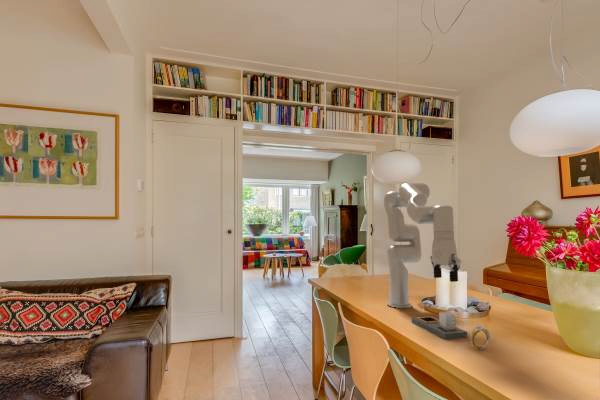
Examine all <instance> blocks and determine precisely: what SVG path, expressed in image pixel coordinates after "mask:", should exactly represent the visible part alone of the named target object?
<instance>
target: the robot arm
mask: <svg viewBox="0 0 600 400" xmlns="http://www.w3.org/2000/svg"><path fill="white" fill-rule="evenodd" d="M430 191H431V190H430V188H429V186H428V185H427V184H426V183H423V182H405V183H403V184H401V185H400V186H399V188H398V190H393V191H388V192H386V193H385V195H384V197H383V206H384V207H383V208H384V209H385V213H386V216H387V217H386V218H387V226H388V228H387V229H388V237H389V240H390V241H391V242H393V243H408V244H392V245H390V246H389V247H388V248H387V250H386V254H387V261H388V270H389V272H388V273H389V295H388V296H387V297H388V298H389V300H388V301H387V302H386V305H387V306H388V305H389V306H388V307H390V306H391V308H394V307H396V308H395V309H409V308H412V307H413V303H412V302H410V291H409V271H408V269H407V267H406V266H405V264H407V263H410V264H413V263H418V262H420V260H421V259H422V245H421V244H422V243H421V235H420V230H419V228H418V226H417V225H415V224H413V223H411V224H410V223H407V224H406V223H405V216H404V213H403V212H402V211H401V209H400V208H406V212H407V215H408V217H409V218H410V219H411V220H412V221H413V222H414V223H416V224H419V225H420V224H421V225H423V224H424V225H427V224H429V225H430V224H431V225H432V226H433V228H432V229H433V239H432V245H431V255H430V257H429V258H430V262H431V265H432V268H433V278H434V279H438V278H440V279H441V278H442V275H443V274H442V267H441V266H445V267H446V266H448V268H449V281H450V282H453V283H454V282H459V275H458V273H459V271H460V268H461V264H462V260H461V259H460V258H459V257H458V253H457V252H458V251H457V246H456V240H455V226H454V208H453V207H452V205H449V204H448V205H445V204H444V205H443V204H441V205H426V204H427V201H428V198H429V196H430V195H431V193H430Z"/></svg>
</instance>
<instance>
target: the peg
mask: <svg viewBox="0 0 600 400" xmlns="http://www.w3.org/2000/svg"><path fill="white" fill-rule="evenodd" d="M438 317H439V318H438V319H439V325H440V329H441V330H443V331H445V332H449V331H455V327H456V319H455V318H456V317H455V313H451V312H449V311H440V312H439V313H438Z"/></svg>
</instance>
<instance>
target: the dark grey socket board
mask: <svg viewBox="0 0 600 400" xmlns="http://www.w3.org/2000/svg"><path fill="white" fill-rule="evenodd" d="M411 323H412V324H414V325H416V326H418V327H420V328H422V329H424V330H425V329H426V331H428V332H430V333H431V334H433V335H435V336H437V337H439V338H440V339H443V340H446V341H447V340H453V339H465V338H468V331H466V330H464V329H462V328H460V327H457V326H455V331H449V332H445V331H443V330H441V329H440V325H439V318H437V317H435V316H432V315H427V316H415V317H413V316H412V317H411Z"/></svg>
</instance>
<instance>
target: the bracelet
mask: <svg viewBox="0 0 600 400" xmlns="http://www.w3.org/2000/svg"><path fill="white" fill-rule="evenodd" d="M481 331H482V332H483V334H485V336H486V341H485V343H484V344H483V345H477V344H475V337H476V335H477V334H478V333H480V332H481ZM469 339H470V342H471V344H472V346H473V347H474V348H477V349H479V350H483V349H486V348H487V347H488V346H489V344H490V342H491V334H490V331H489V330H488V329H486V327H485V326H483V325H478V324H477V325H475V326H474V327H473V328H472V329H471V331H470V334H469Z"/></svg>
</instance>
